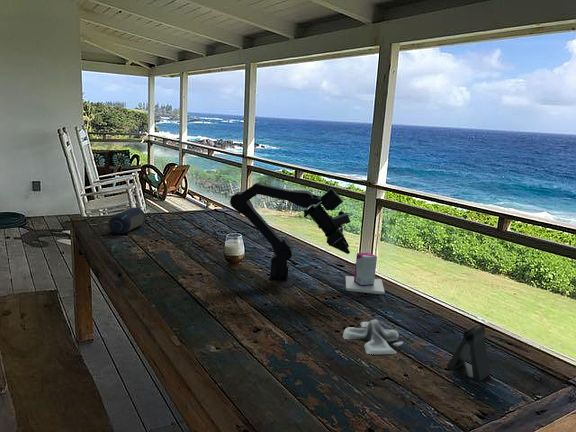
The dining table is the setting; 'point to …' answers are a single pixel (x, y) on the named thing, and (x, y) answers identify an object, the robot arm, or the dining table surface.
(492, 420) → the dining table surface
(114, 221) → the portable speaker
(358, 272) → the supplement box
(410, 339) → the dining table surface
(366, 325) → the cloth
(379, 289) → the mat
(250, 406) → the dining table surface
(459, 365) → the phone stand
